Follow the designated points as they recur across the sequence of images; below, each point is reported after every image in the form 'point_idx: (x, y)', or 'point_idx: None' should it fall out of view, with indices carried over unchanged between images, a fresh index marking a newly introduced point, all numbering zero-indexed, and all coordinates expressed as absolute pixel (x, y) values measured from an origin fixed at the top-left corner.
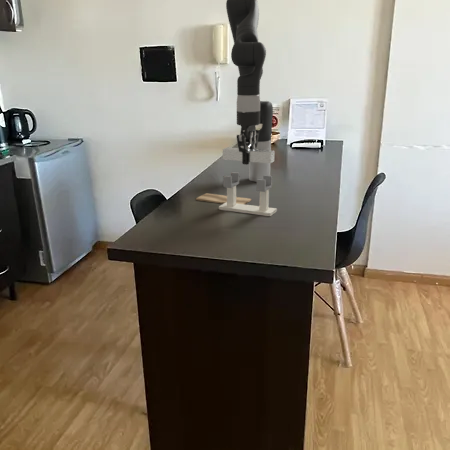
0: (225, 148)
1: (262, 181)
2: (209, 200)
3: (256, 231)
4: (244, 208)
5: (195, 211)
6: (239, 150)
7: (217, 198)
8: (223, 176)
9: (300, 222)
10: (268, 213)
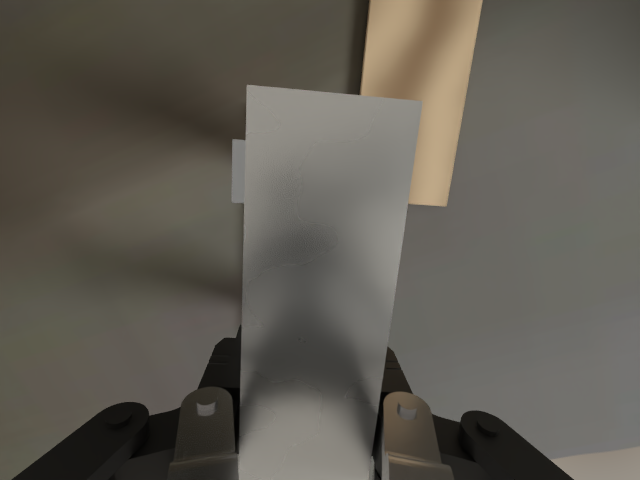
0: (314, 112)
1: None
2: (368, 12)
3: (86, 339)
4: None
5: (201, 7)
6: (91, 426)
7: (411, 42)
8: (232, 139)
9: None
10: None
